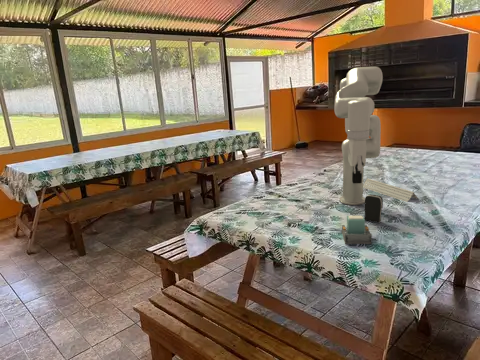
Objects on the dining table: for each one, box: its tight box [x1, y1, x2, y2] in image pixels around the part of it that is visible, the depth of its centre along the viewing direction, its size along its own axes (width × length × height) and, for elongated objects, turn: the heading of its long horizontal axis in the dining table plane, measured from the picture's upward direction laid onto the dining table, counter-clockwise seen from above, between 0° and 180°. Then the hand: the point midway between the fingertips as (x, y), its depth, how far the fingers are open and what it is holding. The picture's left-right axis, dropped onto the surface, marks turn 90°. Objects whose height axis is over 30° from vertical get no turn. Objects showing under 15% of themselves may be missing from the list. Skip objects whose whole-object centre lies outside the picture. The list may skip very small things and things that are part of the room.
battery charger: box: [364, 193, 384, 224], centre depth 151 cm, size 7×4×11 cm, turn 49°
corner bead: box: [363, 178, 419, 203], centre depth 186 cm, size 31×9×5 cm, turn 24°
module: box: [346, 215, 366, 234], centre depth 138 cm, size 4×6×7 cm
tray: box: [341, 224, 373, 245], centre depth 137 cm, size 10×10×4 cm
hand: (356, 182), depth 133 cm, fingers closed
